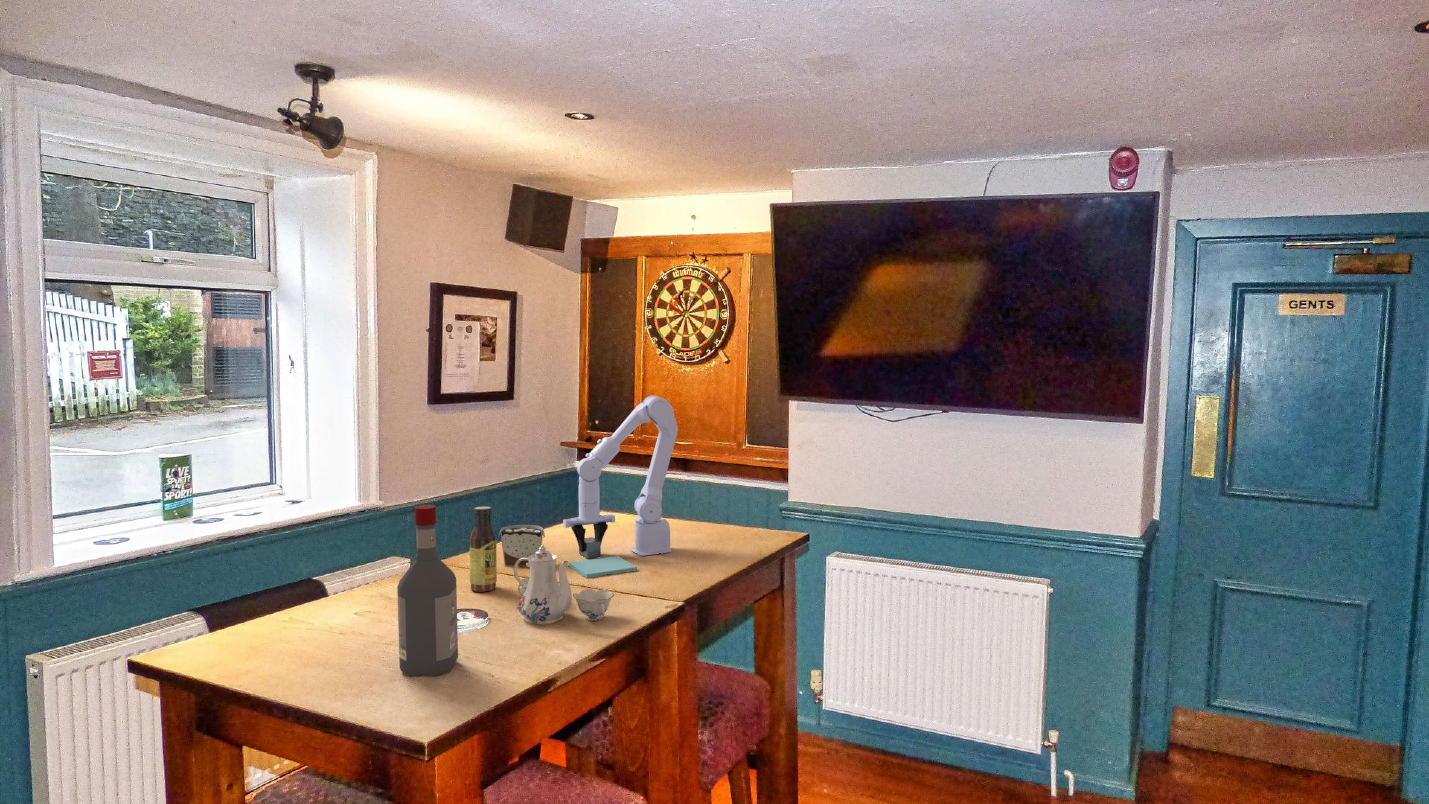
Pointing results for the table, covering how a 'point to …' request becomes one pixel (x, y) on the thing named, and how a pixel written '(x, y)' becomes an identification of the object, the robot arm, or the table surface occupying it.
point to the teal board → (602, 566)
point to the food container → (520, 542)
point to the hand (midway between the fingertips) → (589, 550)
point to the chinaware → (554, 592)
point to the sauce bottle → (483, 552)
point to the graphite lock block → (591, 548)
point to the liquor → (427, 606)
